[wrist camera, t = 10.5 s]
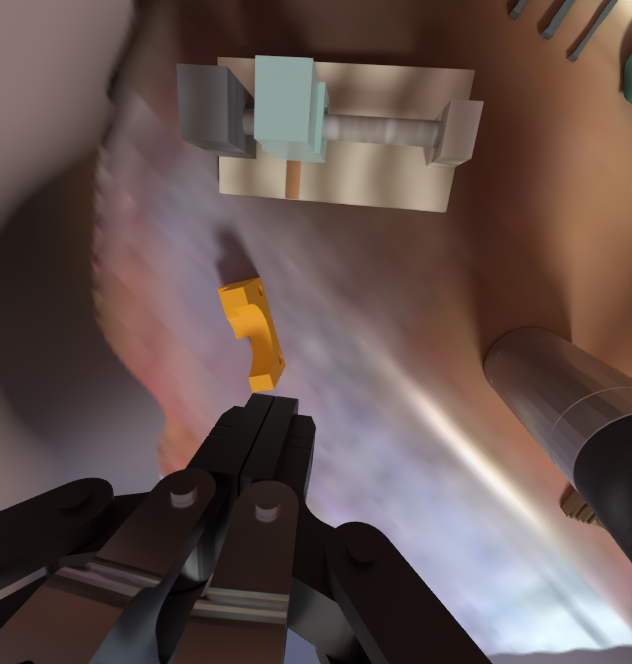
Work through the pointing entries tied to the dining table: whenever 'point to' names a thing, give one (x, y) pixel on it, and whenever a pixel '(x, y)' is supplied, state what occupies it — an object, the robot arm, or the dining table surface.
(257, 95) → the sleeve
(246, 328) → the pipe clamp
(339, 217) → the dining table surface
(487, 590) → the dining table surface
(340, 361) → the dining table surface
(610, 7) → the cutlery set
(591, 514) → the banker's lamp
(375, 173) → the rod rig
